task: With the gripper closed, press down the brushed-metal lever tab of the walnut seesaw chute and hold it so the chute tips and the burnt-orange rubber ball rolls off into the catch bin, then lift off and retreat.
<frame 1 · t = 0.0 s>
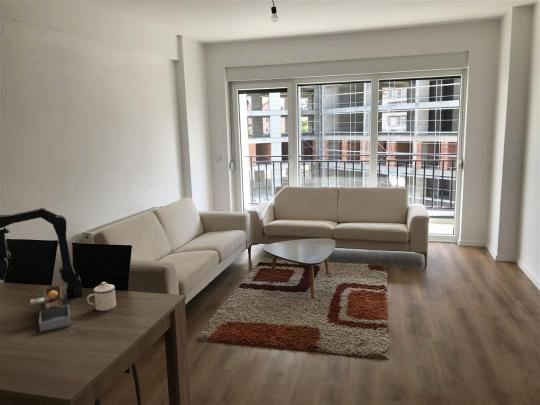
hand: (3, 277, 191), 15 cm above the table, fingers open, 9 cm apart
ball: (53, 295, 185), point 8 cm above the table, touching chute
catch bin: (55, 322, 177), on the table
chute: (48, 299, 185), point 6 cm above the table, hinge at 0.0°, touching ball
teacup with lid: (102, 308, 190), on the table
stand: (55, 312, 187), on the table
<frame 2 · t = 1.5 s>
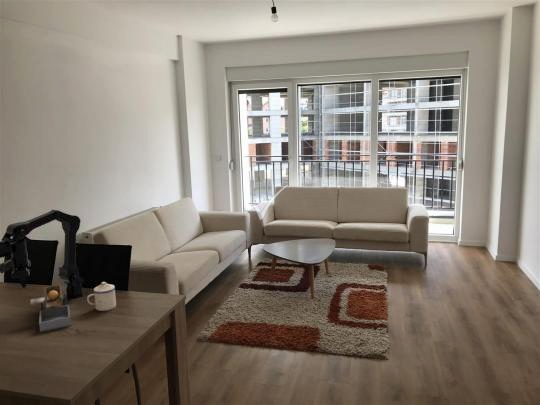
hand: (23, 287, 185), 12 cm above the table, fingers closed
nothing on the table moved.
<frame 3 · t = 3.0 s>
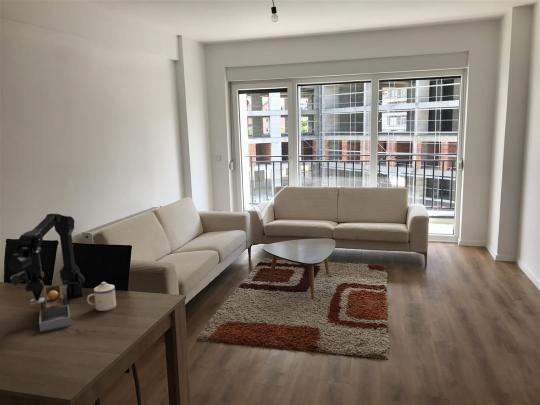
hand: (37, 299, 177), 9 cm above the table, fingers closed, pressing on chute
chute: (48, 299, 185), point 6 cm above the table, hinge at 0.0°, touching ball, gripper
everything else where it was.
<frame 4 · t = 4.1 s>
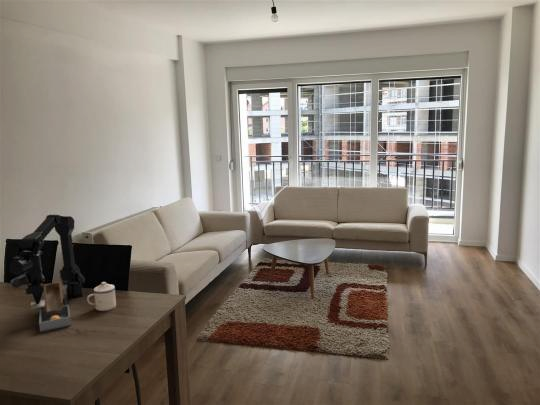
hand: (37, 303, 177), 8 cm above the table, fingers closed
ball: (55, 320, 173), point 2 cm above the table, tilted 85°, touching catch bin
chute: (48, 299, 185), point 6 cm above the table, hinge at 12.3°, touching gripper
everything else where it was.
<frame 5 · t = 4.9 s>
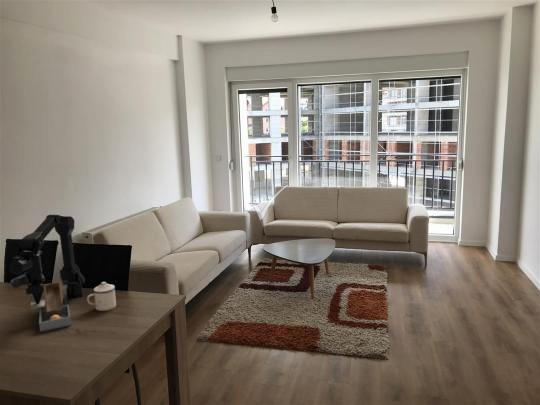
hand: (37, 303, 177), 8 cm above the table, fingers closed
ball: (55, 319, 174), point 2 cm above the table, tilted 66°, touching catch bin
everything else where it was.
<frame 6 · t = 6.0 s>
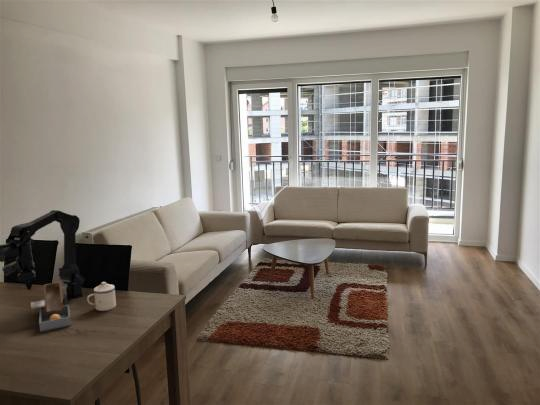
hand: (29, 289, 183), 12 cm above the table, fingers closed
ball: (55, 318, 174), point 2 cm above the table, tilted 39°, touching catch bin
chute: (48, 299, 185), point 6 cm above the table, hinge at 12.3°
everything else where it was.
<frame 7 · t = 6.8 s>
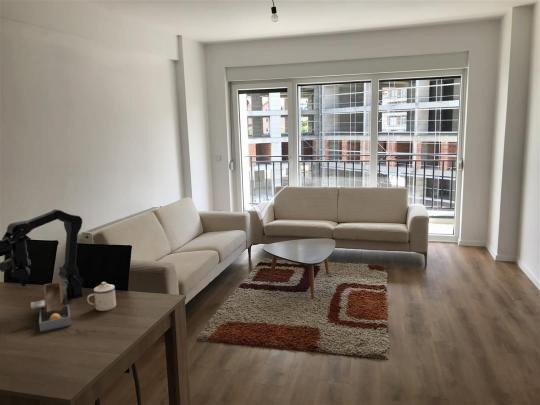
hand: (24, 286, 186), 12 cm above the table, fingers closed
ball: (55, 318, 175), point 2 cm above the table, tilted 20°, touching catch bin
everything else where it was.
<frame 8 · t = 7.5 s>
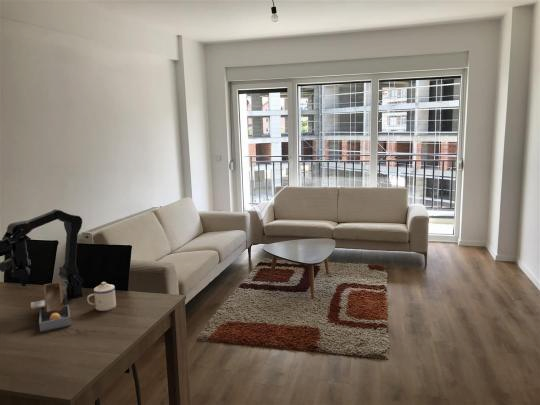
hand: (24, 286, 186), 12 cm above the table, fingers closed
ball: (55, 317, 176), point 2 cm above the table, touching catch bin
everything else where it was.
at the end: ball inside the target area on the catch bin (1.0 cm from its centre), point 2.4 cm above the catch bin's base; ball moved 13.0 cm from its start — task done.
